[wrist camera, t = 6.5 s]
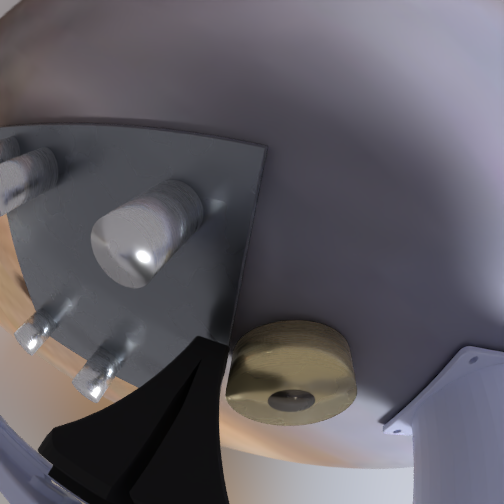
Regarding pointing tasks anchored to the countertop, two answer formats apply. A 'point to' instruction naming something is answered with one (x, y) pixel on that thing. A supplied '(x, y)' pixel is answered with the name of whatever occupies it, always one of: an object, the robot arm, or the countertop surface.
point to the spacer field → (127, 240)
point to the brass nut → (291, 374)
